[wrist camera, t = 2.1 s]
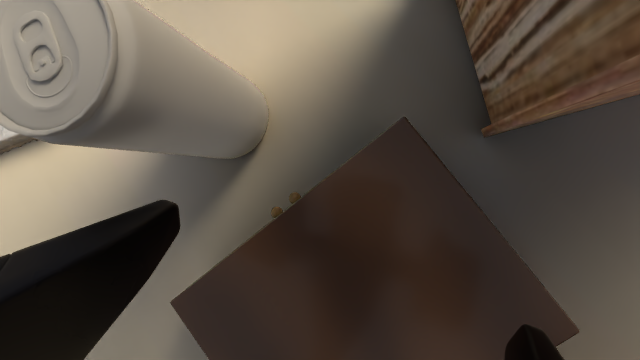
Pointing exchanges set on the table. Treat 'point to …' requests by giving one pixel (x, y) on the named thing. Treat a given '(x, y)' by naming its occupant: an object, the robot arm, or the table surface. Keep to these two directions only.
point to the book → (551, 56)
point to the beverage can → (120, 82)
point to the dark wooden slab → (372, 271)
